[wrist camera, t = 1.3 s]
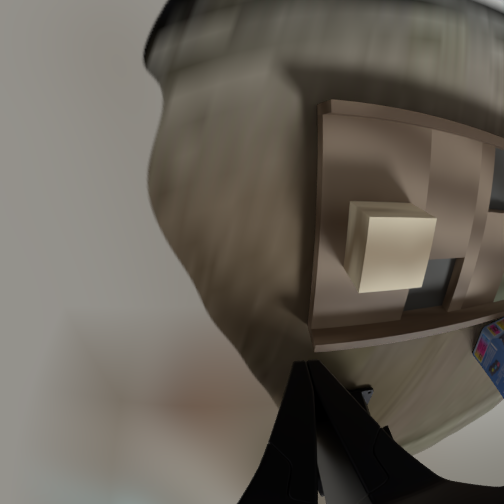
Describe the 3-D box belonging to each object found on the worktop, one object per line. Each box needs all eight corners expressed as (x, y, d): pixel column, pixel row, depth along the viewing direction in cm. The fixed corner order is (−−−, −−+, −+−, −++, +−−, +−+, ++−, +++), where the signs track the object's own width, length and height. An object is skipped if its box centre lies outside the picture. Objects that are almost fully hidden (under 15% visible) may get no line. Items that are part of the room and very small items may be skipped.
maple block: (400, 264, 20) (421, 287, 17) (343, 267, 20) (358, 293, 17) (410, 203, 18) (436, 218, 15) (349, 201, 18) (369, 217, 15)
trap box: (510, 294, 24) (525, 309, 21) (307, 325, 24) (314, 352, 21) (541, 158, 16) (561, 165, 13) (317, 104, 17) (331, 99, 13)
